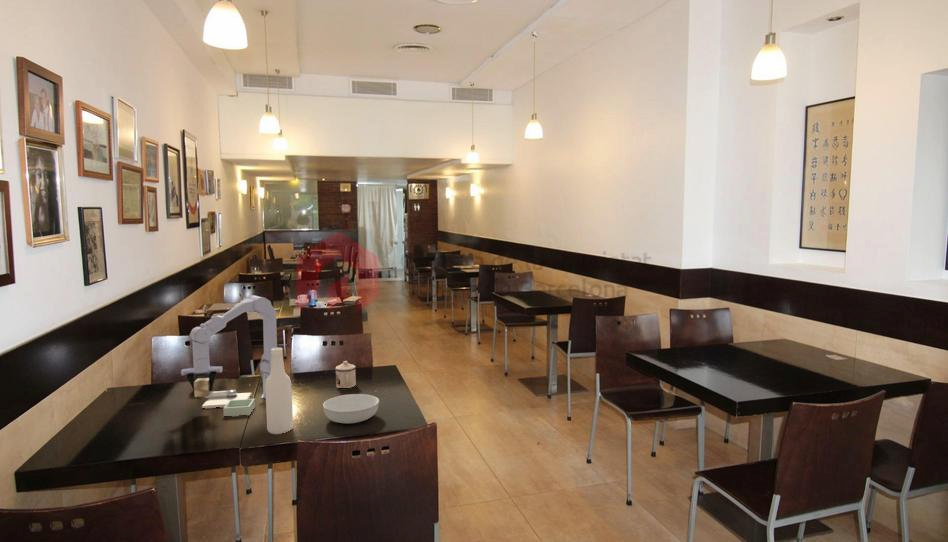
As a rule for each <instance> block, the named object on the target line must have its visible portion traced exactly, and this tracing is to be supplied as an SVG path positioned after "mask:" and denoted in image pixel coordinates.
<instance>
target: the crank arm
mask: <svg viewBox="0 0 948 542" xmlns="http://www.w3.org/2000/svg"><path fill="white" fill-rule="evenodd" d="M236 393H237V389H229V390H218V391H217V390H216V391H213V390H212V393H211V394H210V395H209V396H206V397H204V399H209V398H213V397H234V396H236Z"/></svg>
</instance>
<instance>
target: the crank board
mask: <svg viewBox="0 0 948 542" xmlns="http://www.w3.org/2000/svg"><path fill="white" fill-rule="evenodd" d="M250 396H251V397H252V392H241V393H239V392H236V396H234V397H213V398H207V400H206V401H205V402H204V403H203V404H202V406H201V409H202V408H205V409H217V408H216V407H220V408H224V407H225V405H226V404H227V403H228V402H229V400H241V399H251V397H250Z"/></svg>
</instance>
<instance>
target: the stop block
mask: <svg viewBox="0 0 948 542" xmlns="http://www.w3.org/2000/svg"><path fill="white" fill-rule="evenodd" d="M212 392H213V390H212V391H210V383H209V378H198V379H197V380H196V381H195V382H194V392H193V394H194V398H203V397H204V398H205V397H206V396H209V395H210V394H211V393H212Z"/></svg>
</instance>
